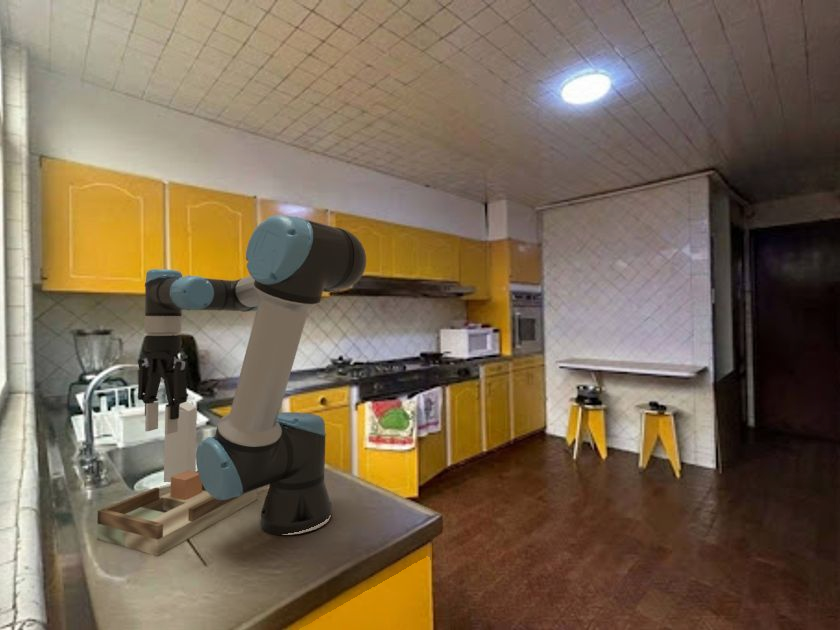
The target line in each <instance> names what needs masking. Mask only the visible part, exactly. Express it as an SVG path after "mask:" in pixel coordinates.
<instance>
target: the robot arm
mask: <svg viewBox="0 0 840 630" xmlns="http://www.w3.org/2000/svg"><path fill="white" fill-rule="evenodd" d="M245 260H246V261H248V262H247V263H246V269H247V272H248V274H249V275H247V276H245V277H242V278H239V279H235V280H227V279H216V278H215V279H214V278H205V277H202V276H198V275H185V276H184V275H183V274H182V272H181V271H180V270H176V269H168V268H167V269H166V268H157V269H156V268H152V269H149V270H147V272H146V275H145V283H144V288H145V290H144V291H145V292H144V293H145V295H144V298H145V299H144V300H145V301H144V305H145V306H144V310H145V311H144V313H145V314H144V327H143V328H144V333H145V334H146V335H145V336H144V339H143V340H144V341H143V342H144V344H143V345H144V347H143V348H144V351H145V352H147V356H146V357H145V358H139V359H137V365H138V386H137V387H138V389H137V400H139V401H142V402H143V404H144V416H145V420H144V422H145V426H144V427H145V429H144V430H145V432H151V431H155V430H158V429H159V399H160V398H157V397H158V392H159V388H160V386H161V385H160V384H161V380H162V379H163V382H164V383H163V384H164V389H165V394H166V399H167V404H165V409H164V410H165V412H164V435H165V434H171V433H174V432H177V429H178V418H179V405H180V404H181V403H184V402H186V401H187V402H188V393H187V391H188V388H187V387H188V386H187V383H188V381H187V370H188V366H189V361H188V360H181V359H180V358H179V355H178V351H181V349H182V336H181V335H179V334H181V333H182V315H183V314H182V313H183V312H182V311H220V312H221V311H225V312H226V311H228V312H231V311H232V312H242V313H246V312H255V314H254V315H255V316H254V319H253V323H252V327H251V332H250V335H249V339H248V341H247V342H248V343H247V345H246V346H247V347H246V349H245V355H244V358H243V362H242V366H241V368H240V373H239V377H238V381H237V384H236V389H235V391H234V392H235V393H234V396H233V399H232V404H231V408H230V412H229V413H227V414H226V415H223V416H222V417H221V418H220V419H219V421H218V422H217V427H216V430H215V433H214V434H215V435H214V436H212V437H211V436H209V437H206V438H204V439H203V440H201V441H200V442H199V443H198V446H197V447H196V471H198V474H199V477H200V480H201V482H202V484H203V486H204V488H205V489H206V491H207V492H208V493H209V494H210V495H211V496H212V497H214V498H215V499H218V500H226V499H230V498H233V497H239V496H241V495H242V494H245V493H248V492H250V491H253V490H255V489H257V490H258V489H261V488H263V487H265V486H268V485H269V487H268V491H267V493H266V496H265V499H264V502H263V504H262V507H261V510H260V521H259V522H260V527H261V529H262V530H263V531H265V532H266V533H269V534H271V535H277V536H283V535H282V534H288V533H294V532H299V531H302V530H306V529H309V528H311V527H314V526H316V525H318V524H320V523H322V522H324V521H325V520H326V519H328V518H329V516H330V515H331V512H332V513H333V506H332V502H331V499H330V496H329V492H328V489H327V486H326V482H325V464H326V461H325V460H326V459H325V458H326V437H327V434H326V425H325V424H326V423H325V420H324V418H323V417H322V416H320V415H319V414H318V415H317V414H313V413H309V412H298V411H297V412H294V411H293V412H292V411H289V412H288V411H287V412H280V410H281V408H282V404H283V401H284V397H285V394H286V390H287V386H288V384H289V380H290V376H291V372H292V370H293V366H294V362H295V359H296V355H297V352H298V348H299V344H300V342H301V338H302V334H303V331H304V327H305V324H306V320H307V316H308V314H309V310H311V309H312V308H314V307H316V306H318V305H319V304H320V302H321V300H322V296H323V293H330V292H335V291H339V290H344V289H348V288H349V287H352V286H354V285H355V284H356V283H358V281H360V279H361V278H362V277H363V275H364V273H365V270H366V266H367V254H366V250H365V248H364V245H363V244H362V242H361V240H360V239H359V238H357V236H355V235H354V234H353V233H351V232H350V231H348V230H346V229H344V228H341V227H336V226H330V225H327V224H324V223H320V222H317V221H313V220H309V219H305V218H303V217H299V216H291V215H285V214H275V215H272V216H269V217H267V218H266V219H265V220H262V221H261V222H260V223H259V224H258V225H257V226H256V227H255V229H254V231H253V232H252V234H251V235H250V238H249V240H248V242H247V246H246V251H245Z"/></svg>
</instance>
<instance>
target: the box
mask: <svg viewBox="0 0 840 630" xmlns="http://www.w3.org/2000/svg"><path fill="white" fill-rule="evenodd" d="M196 472H198V470H196ZM257 490H258V489H255V490H253V491H250V492H248V493H245V494H242V495H241V496H239V497H233V498H230V499H226V500H218V499H215V498H214V497H212V496H211V495H210V494H209V493H208V492H207V491H206V489H205V488H204V486H203V484H202V493H200V494H197V495H195V496H193V497H191V498H189V499H187V500H182V499H178V498H173V497H171V491H170V492H168V493H166V494H163V495H160V488H159V487H154V488H151V489H148V490H146V491H144V492H141V493H139V494H136V495H134V496H132V497H129V498H127V499H124V500H121V501H119V502H117V503H114V504H112V505H109V506H106V507H105V508H102V509H99V510H97V523H96V525H97V527H96V528H97V529H96V530H97V531H96V532H97V533H96V539H97V540H100V541H104V542H108V543H111V544H114V545H117V546H121V547H125V548H127V549H132V550H136V551H138V552H143V553H146V554H148V555H153V556H156V557H159V556H161V554H163V553H165V552H167V551H169V550H170V549H172V548H174V547H177V546H178V545H179V544H181V543H183V542H185V541H186V540H188V539H190V538H192V537H194V536H196V535H198V534H199V533H200V532H202V531H204V530H206V529H208V528H210V527H211V526H213V525H215V524H216V523H218V522H220V521H222V520H223V519H225V518H227V517H229V516H231V515H232V514H233V513H236V512H237V511H239V510H241V509H242V508H244V507H246V506H248V505H250V504H252V503H253V502H255V501H257V494H258V493H257V492H258V491H257Z"/></svg>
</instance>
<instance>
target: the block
mask: <svg viewBox="0 0 840 630" xmlns="http://www.w3.org/2000/svg"><path fill="white" fill-rule="evenodd" d="M170 492H171V497H173V498H178V499H182V500H187V499H189V498H191V497H193V496H195V495H197V494H200V493H202V482H201V480H200V477H199V474H198V472H192V471H186V472H183V473H180V474H178V475H175V476H173V477H171V482H170Z"/></svg>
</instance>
